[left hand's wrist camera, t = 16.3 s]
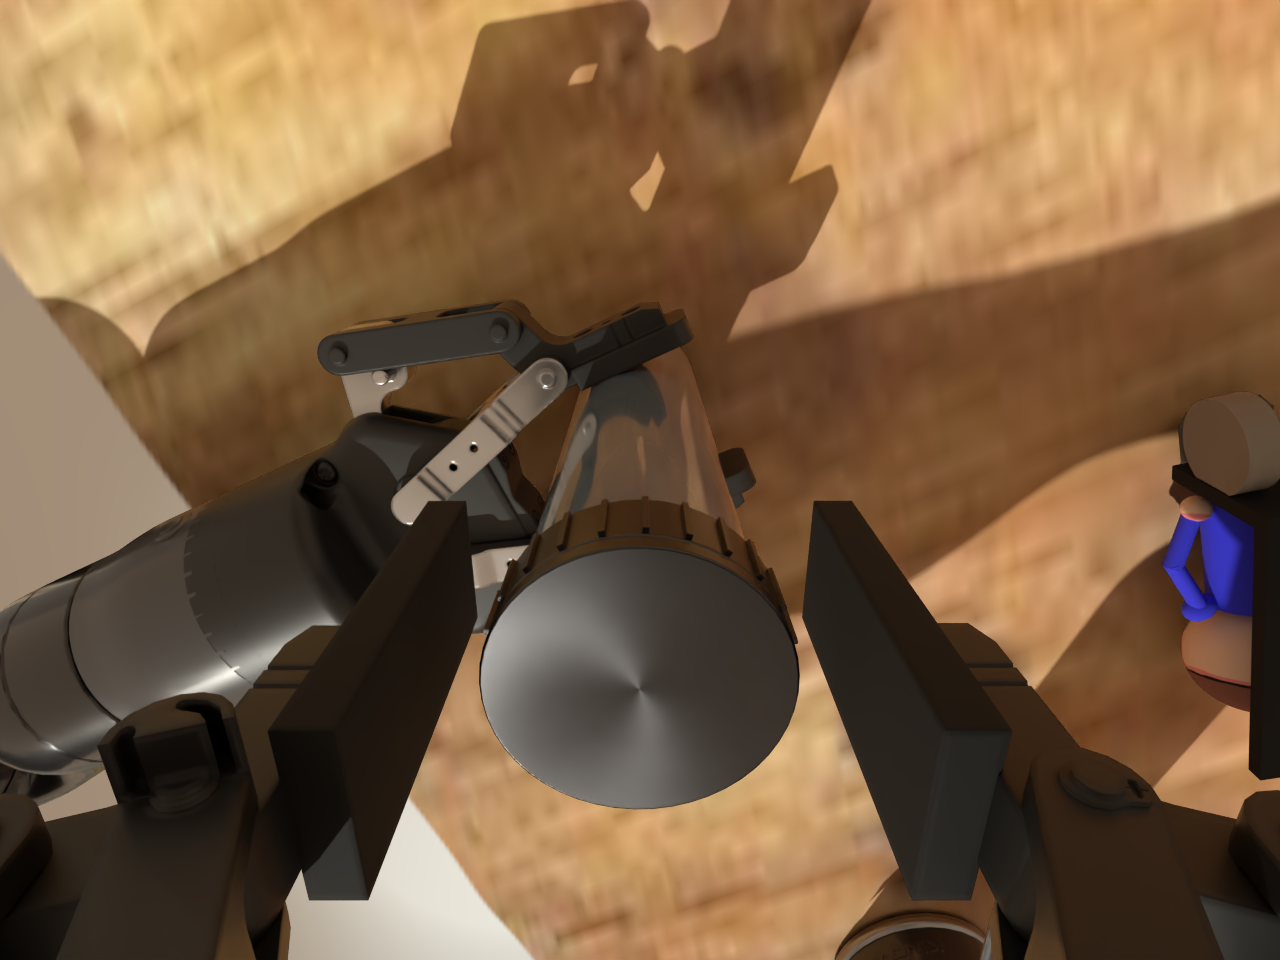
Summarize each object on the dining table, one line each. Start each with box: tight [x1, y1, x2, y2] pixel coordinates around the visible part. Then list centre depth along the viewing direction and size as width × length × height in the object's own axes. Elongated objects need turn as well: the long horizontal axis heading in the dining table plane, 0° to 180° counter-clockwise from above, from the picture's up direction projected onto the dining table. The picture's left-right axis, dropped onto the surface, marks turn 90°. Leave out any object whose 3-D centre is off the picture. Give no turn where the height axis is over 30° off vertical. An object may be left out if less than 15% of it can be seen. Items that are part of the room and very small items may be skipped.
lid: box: [479, 496, 800, 809], centre depth 11 cm, size 5×5×2 cm
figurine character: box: [1162, 391, 1280, 780], centre depth 28 cm, size 7×8×15 cm
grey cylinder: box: [536, 347, 745, 540], centre depth 20 cm, size 4×4×18 cm
